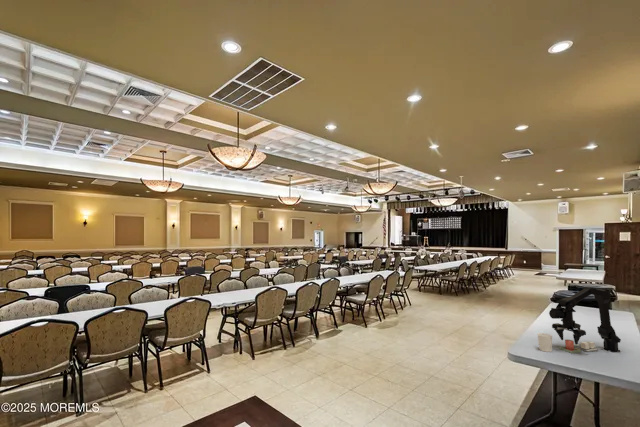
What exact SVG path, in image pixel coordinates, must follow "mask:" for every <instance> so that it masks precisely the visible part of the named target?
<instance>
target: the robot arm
mask: <svg viewBox="0 0 640 427" xmlns="http://www.w3.org/2000/svg"><path fill="white" fill-rule="evenodd" d="M591 295H593V296H594V298H595V300H596V302H597V303H598V304H597V305H598V310H599V312H598V313H599V319H600V325H599V326H597V334H598V335H599V336H600V338H601V339H602V340H603V347H602V349H603V350H605V351H609V352H612V353H617V352H618V353H619V352H621V350H620V349H619V343H621V341H622V340H621V338H620V337H619V336H617V334H616V330H615V328H614V327H613V326H612V324H611V323H612V322H611V317H610V315H611V314H610V308H609V303H610V301H611V293H610V291H608V290H605V289H600V288H594V287H589V286H586V287H584V288H583V289H582V290H580V291H578V292H576V293H574V294H573V295H570V296H566V297H564V298H563V297H562V298H560V299H559V302H558V303H557V305H556V306H555V307H551V308H550V310H549V312H548V314H549V316H550V318H551V319H553V320H554V319H558V320H559V319H560V322H562V323H558V322H557V323H552V325H551V328H552V329H553V330H555V332H556V333H557V335H558V336H559V338H560V340H561V341H564V331H568V332H572V336H573V341H574V345H577V344H579V341H580V339H581V337H584V336H586V335H587V332H586V330H584V329H581V326H582V325H581V324H579V323H576V321H575V320H574V315H573V314H574V313H576V309H574V308H575V307H577V304H578V303H579V302H580V301H582V300H584V299H585V298H588V297H590V296H591Z"/></svg>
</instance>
